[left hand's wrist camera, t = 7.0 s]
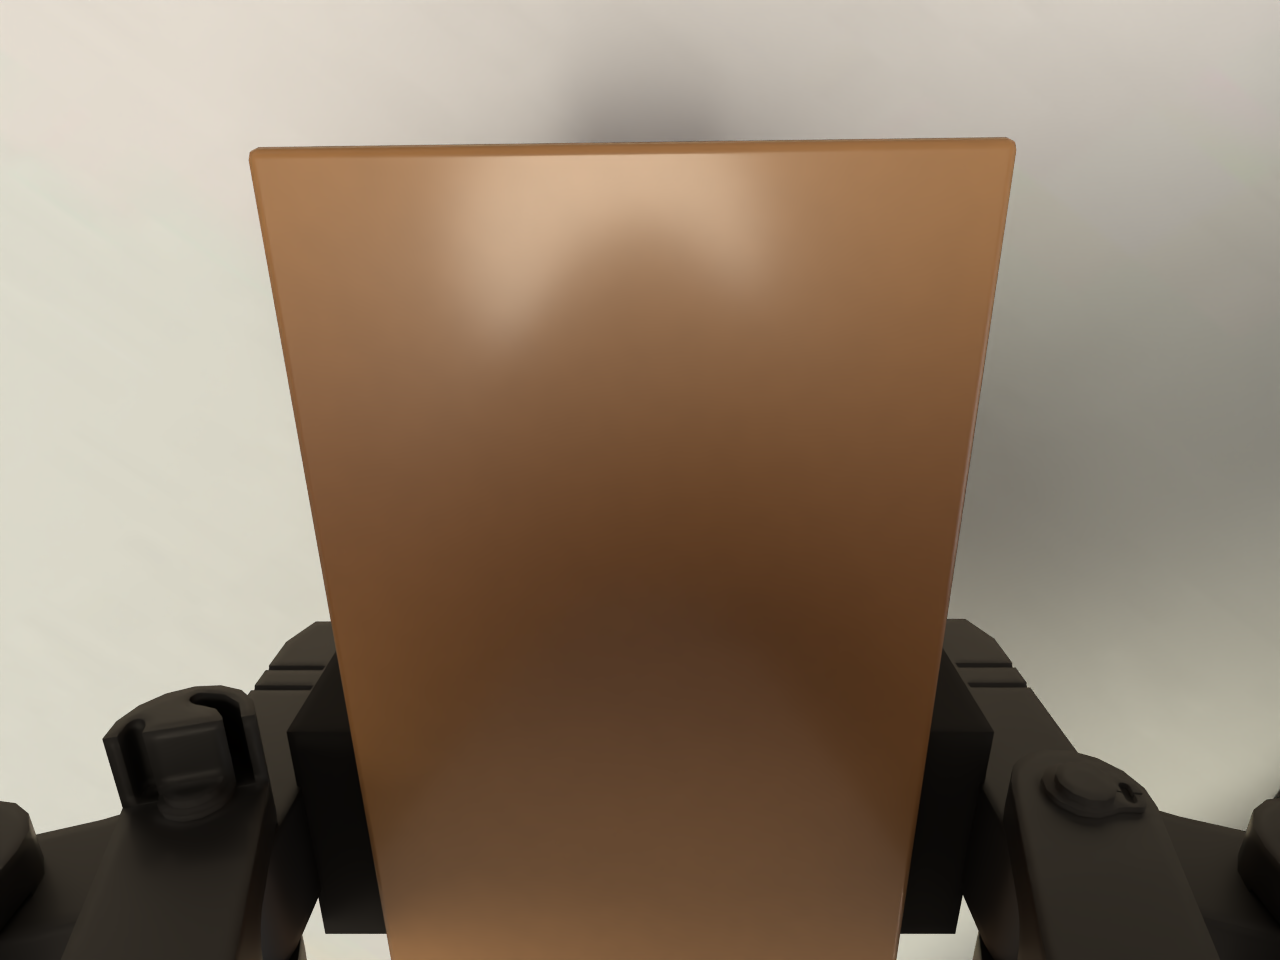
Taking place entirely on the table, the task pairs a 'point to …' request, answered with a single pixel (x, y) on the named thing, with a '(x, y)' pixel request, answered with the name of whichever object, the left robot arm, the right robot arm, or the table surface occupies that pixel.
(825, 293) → the post
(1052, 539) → the table surface
